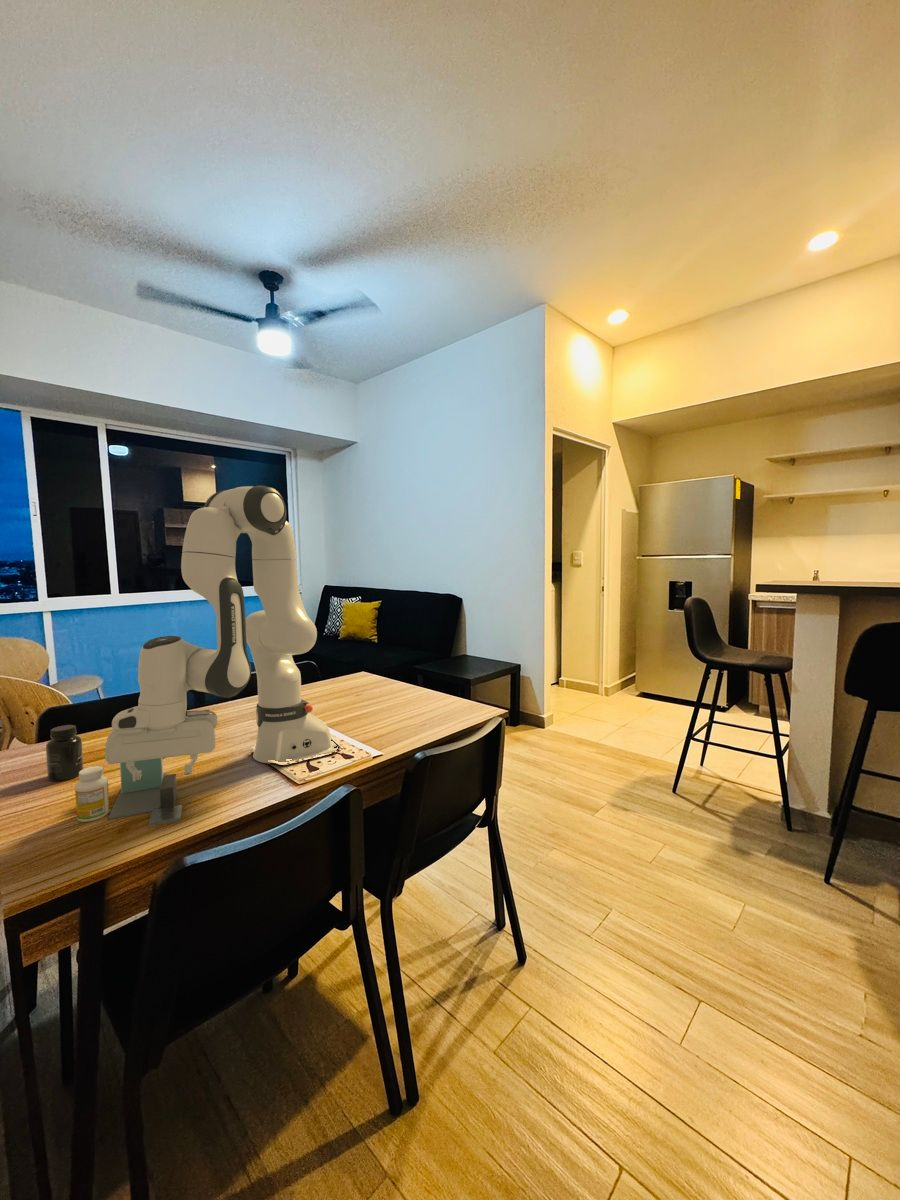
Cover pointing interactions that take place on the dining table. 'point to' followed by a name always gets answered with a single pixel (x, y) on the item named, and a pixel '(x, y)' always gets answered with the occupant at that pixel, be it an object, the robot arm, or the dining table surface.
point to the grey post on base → (167, 803)
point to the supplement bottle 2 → (91, 794)
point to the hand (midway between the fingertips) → (163, 776)
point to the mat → (136, 802)
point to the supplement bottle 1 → (64, 753)
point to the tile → (150, 775)
